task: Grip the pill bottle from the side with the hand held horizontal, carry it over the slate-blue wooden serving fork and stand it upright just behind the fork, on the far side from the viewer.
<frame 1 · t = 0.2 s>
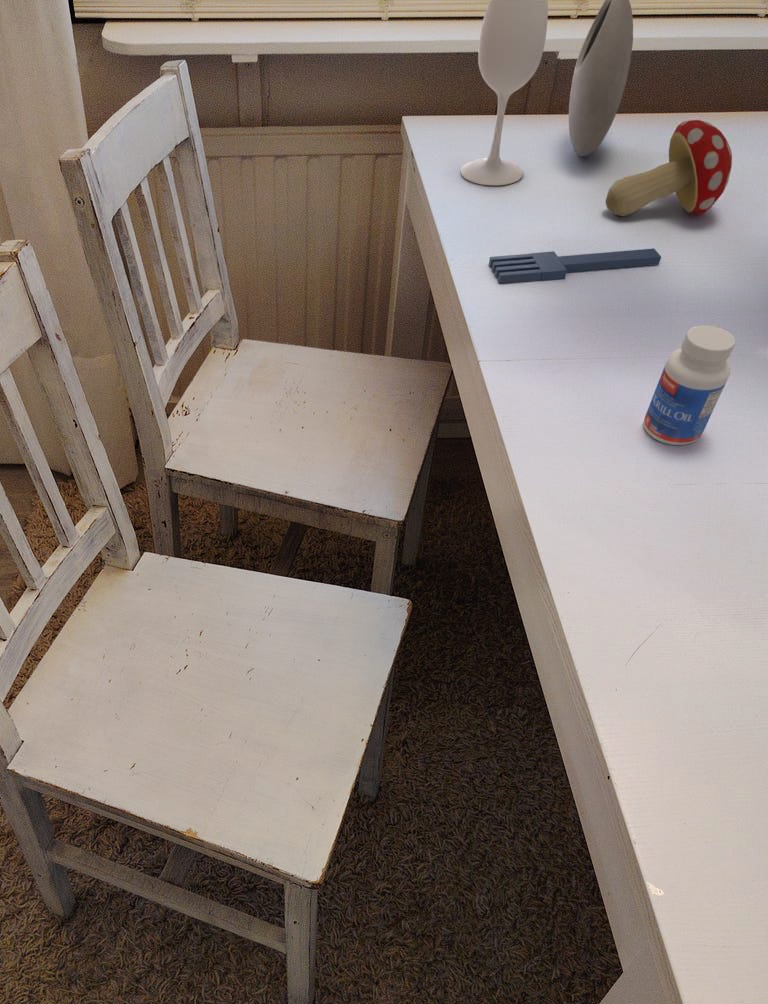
pill bottle: (671, 431, 79), on the table
wineglass: (491, 174, 116), on the table
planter: (582, 153, 120), on the table
serving fork: (579, 267, 99), on the table
decorative mushroom: (656, 211, 108), on the table
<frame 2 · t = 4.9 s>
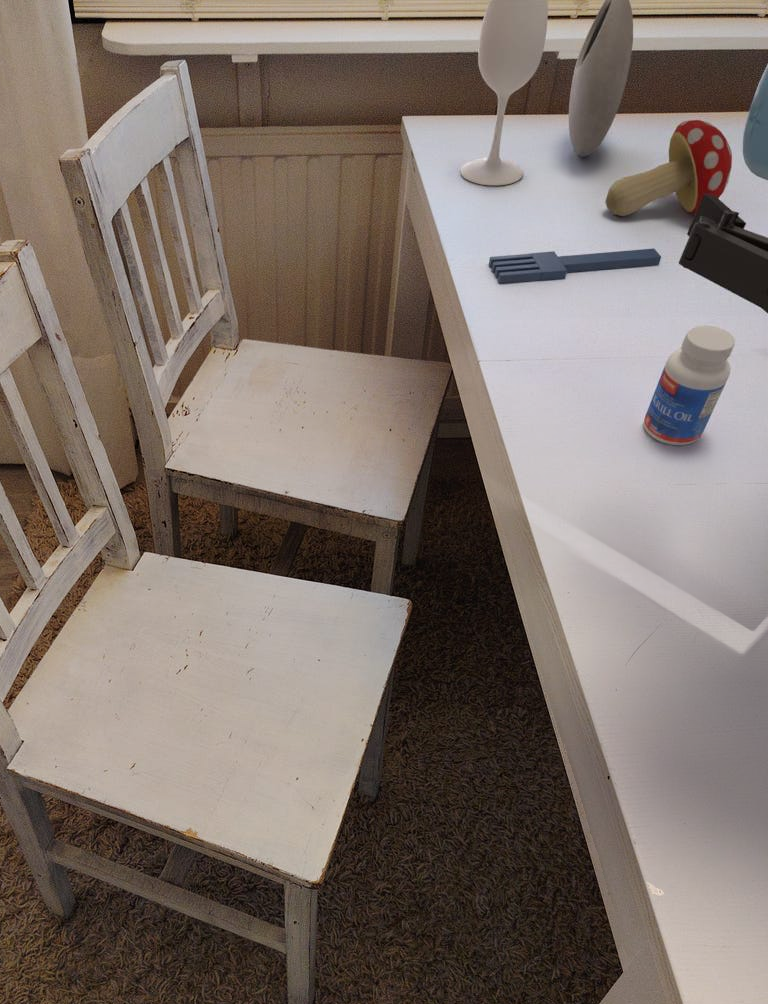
nothing on the table moved.
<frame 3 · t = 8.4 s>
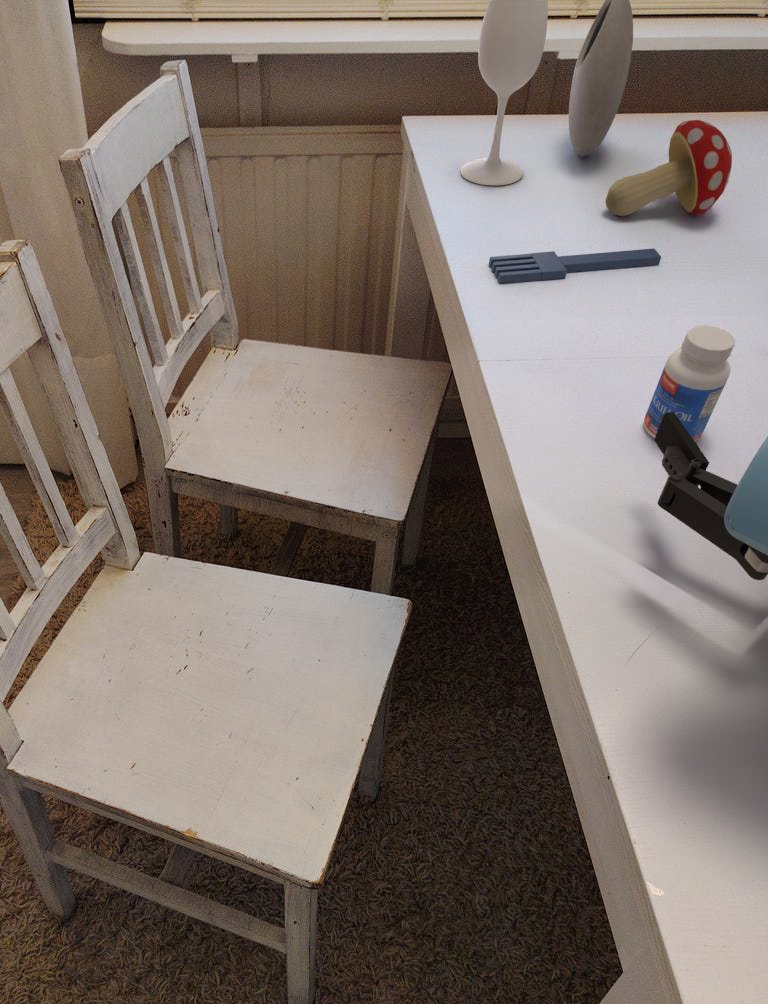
hand: (743, 418, 68), 7 cm above the table, tool horizontal, fingers open, 13 cm apart
nothing on the table moved.
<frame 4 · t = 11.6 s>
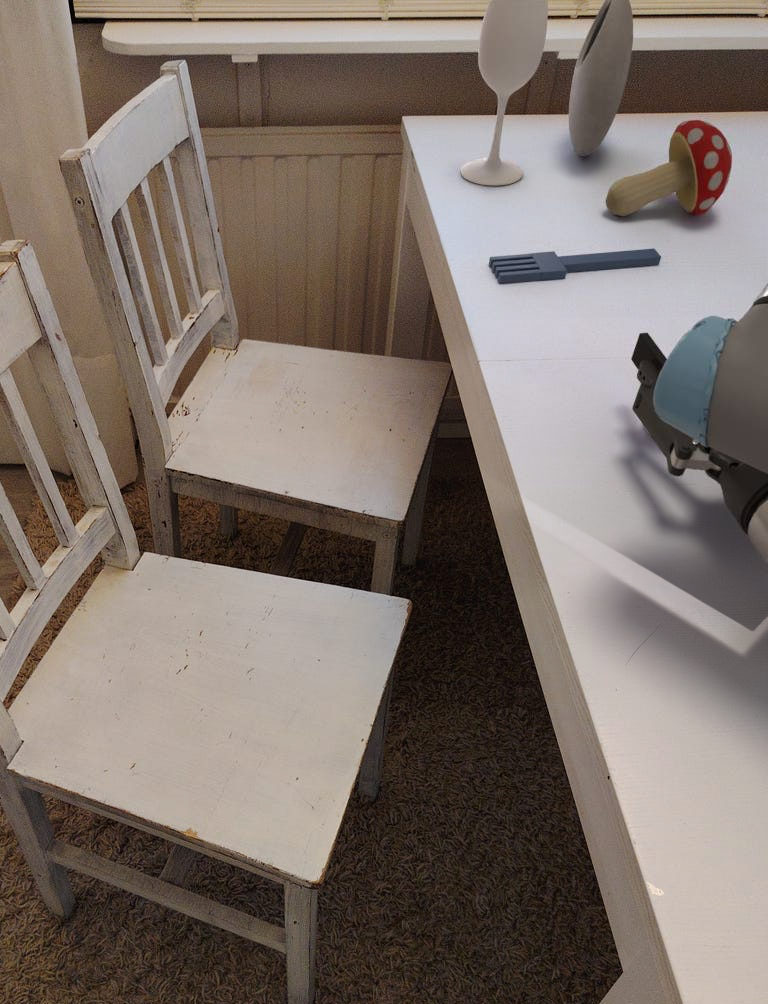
hand: (670, 343, 77), 6 cm above the table, tool horizontal, fingers closed on pill bottle, 5 cm apart
pill bottle: (671, 431, 79), on the table, touching gripper
everything else where it was.
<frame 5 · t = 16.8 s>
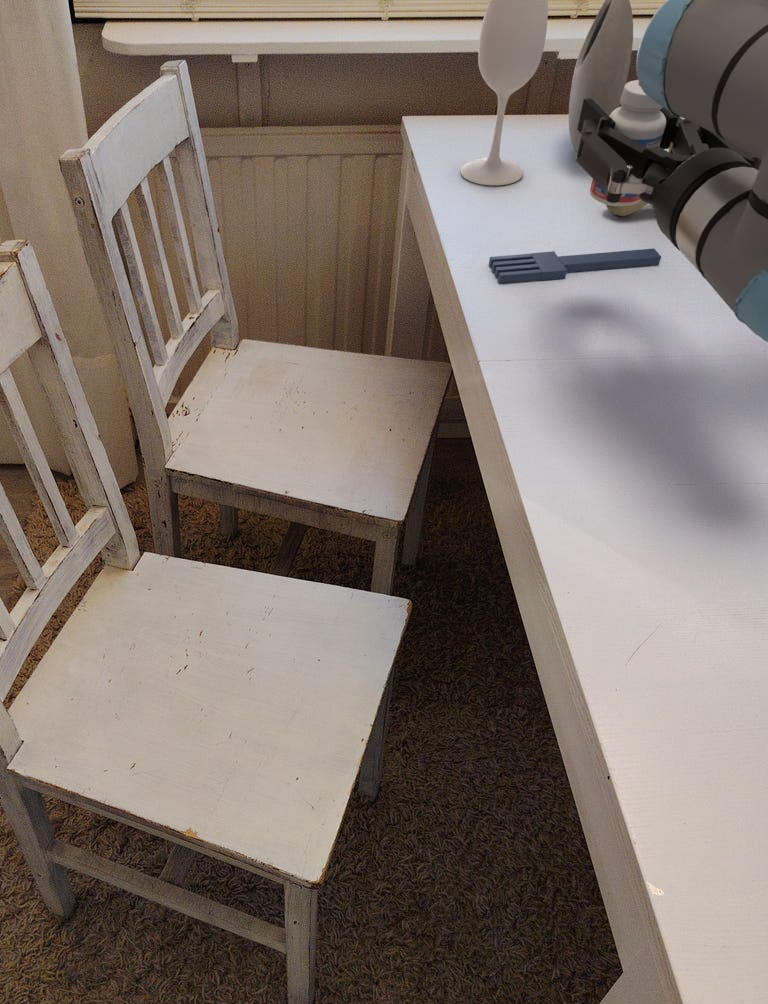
hand: (613, 111, 83), 18 cm above the table, tool horizontal, fingers closed on pill bottle, 5 cm apart
pill bottle: (615, 198, 84), point 12 cm above the table, touching gripper
everything else where it was.
when the fingers open (6 cm above the table, at t = 22.3 s): pill bottle stays where it is, on the table.
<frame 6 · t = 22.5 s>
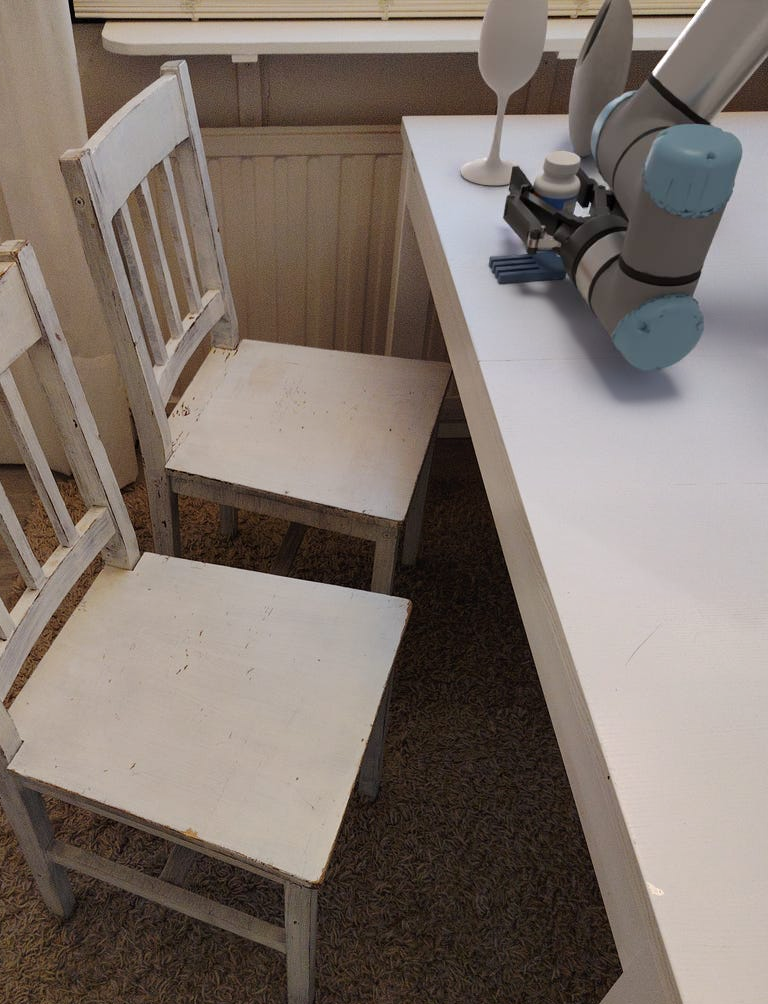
hand: (541, 176, 102), 6 cm above the table, tool horizontal, fingers open, 6 cm apart
pill bottle: (543, 243, 103), on the table
everything else where it was.
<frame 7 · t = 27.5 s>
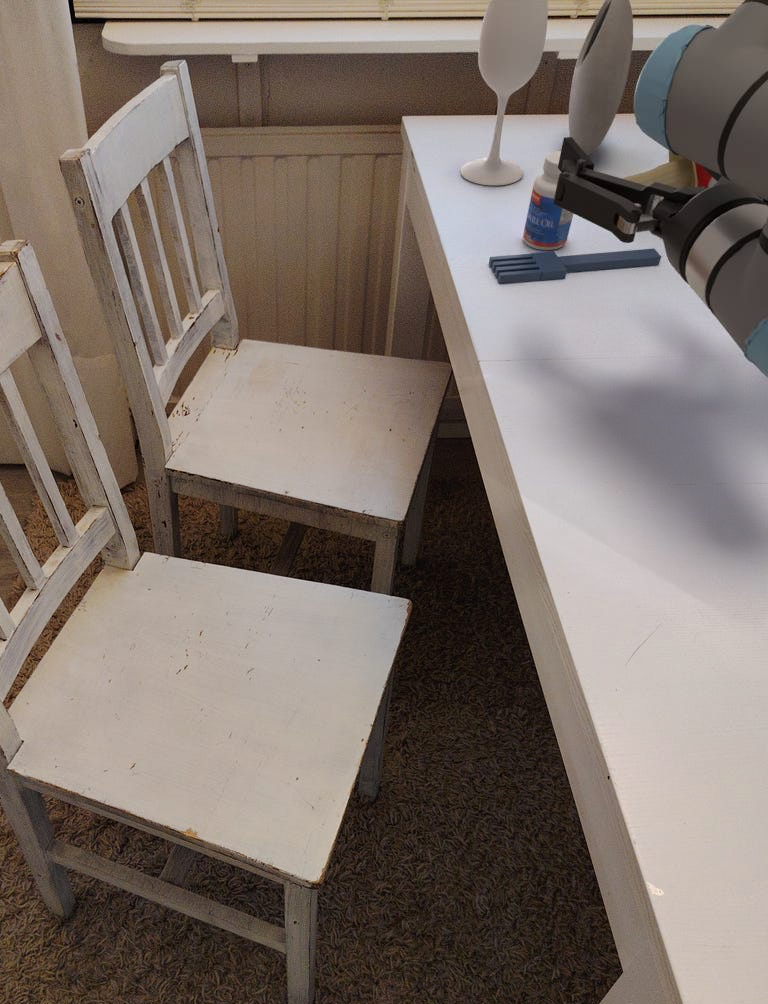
hand: (632, 146, 80), 16 cm above the table, tool horizontal, fingers open, 13 cm apart
nothing on the table moved.
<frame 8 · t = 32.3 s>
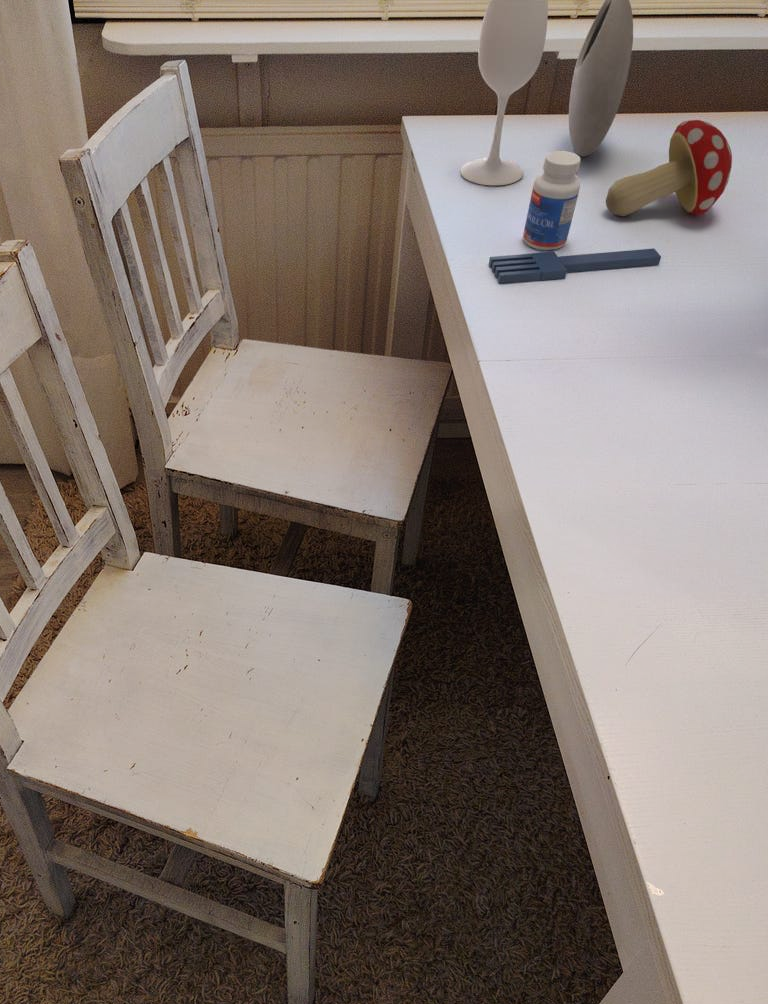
nothing on the table moved.
at the end: pill bottle inside the target area on the table beside the serving fork (1.8 cm from its centre), on the table; pill bottle tilted 0°; the gripper is holding nothing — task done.
